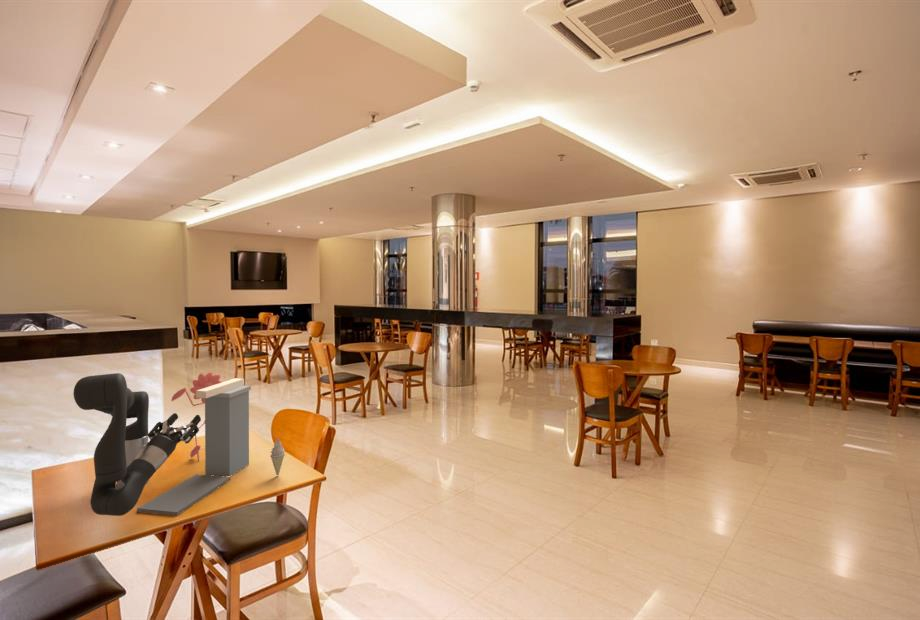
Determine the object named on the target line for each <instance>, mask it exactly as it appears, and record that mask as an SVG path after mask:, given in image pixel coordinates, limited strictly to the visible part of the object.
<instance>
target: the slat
mask: <svg viewBox="0 0 920 620" xmlns="http://www.w3.org/2000/svg"><path fill="white" fill-rule="evenodd" d="M221 382H222V383H219V384H215V385H212V386H209V387H206V388H203V389H200V390H197V391H196V398H200V399H201V398H209V397H211V396H214V395H217V394H220V393H223V392H226V391H228V390H231V389H234V388H237V387H240V386H245V378H238V377H237V378H235V377H234V378H232V379H228V380H226V381H221Z"/></svg>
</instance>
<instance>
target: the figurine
mask: <svg viewBox="0 0 920 620" xmlns="http://www.w3.org/2000/svg"><path fill="white" fill-rule="evenodd" d="M220 379H221V375H220V374H214V375H213V373H212V371H211V372H208V373H207V374H204V373H199V374H198V377H197V379H193V380H192V385H193V386H192V387H191V388H190V389H189V391H190V392H191V393H192V394H194V395H193V399H194V400H199V399H201V402H200V403H196V404H194V403H193V400H192V399H191V397H190V394H189V392H188V391H187V387H183V388H181V389H179V390H177V392H175V393H174V394H173V395H172V397H171V402H173V401H176V400H177V399H179V398H181V397H182V395H184V394H186V396H187V398H188V400H189V402H190V404H191V406H192V407H196V406H200V405H205V398H196V391H197V390H200V389H203V388H206V387H209V386H212V385H215V384H219V383H222V382H223V381H221V380H220ZM203 426H205V420H204V421H203V424H201V425H200V426H199V427H198V429H199V430H200V429H201V428H202V427H203ZM194 440H195V446H194V448H193V449H192V450H191V451H190V452H191V453H190V452H187V453H188V454H189V456H190V459H192V458H194V457H195V456H196V455H197V457H196V458H197V462H200V455H199V452H200V450H201V449H202V448H201V445H200V444H198V443H197V441H198V440H197V434H196V435H195V436H194Z"/></svg>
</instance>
